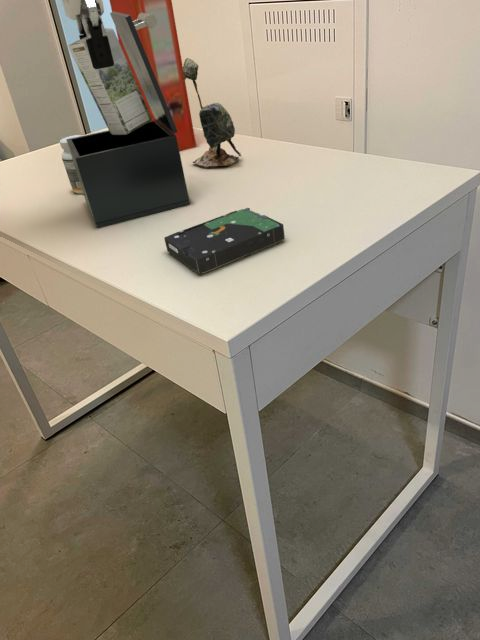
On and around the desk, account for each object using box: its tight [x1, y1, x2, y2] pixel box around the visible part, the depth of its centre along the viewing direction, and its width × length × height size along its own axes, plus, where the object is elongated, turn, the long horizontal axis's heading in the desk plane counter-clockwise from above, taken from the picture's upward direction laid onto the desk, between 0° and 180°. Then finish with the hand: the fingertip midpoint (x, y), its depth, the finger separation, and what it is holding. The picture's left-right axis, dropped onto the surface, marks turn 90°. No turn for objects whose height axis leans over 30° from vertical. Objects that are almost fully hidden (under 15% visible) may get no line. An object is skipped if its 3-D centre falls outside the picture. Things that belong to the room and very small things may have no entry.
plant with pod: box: [182, 57, 242, 168], centre depth 108 cm, size 8×11×20 cm
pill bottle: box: [59, 134, 84, 194], centre depth 107 cm, size 6×6×10 cm
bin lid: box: [109, 11, 178, 134], centre depth 90 cm, size 17×14×5 cm
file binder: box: [108, 0, 197, 152], centre depth 121 cm, size 8×17×32 cm, turn 29°
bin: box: [66, 120, 191, 229], centre depth 97 cm, size 17×14×12 cm
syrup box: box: [68, 27, 152, 135], centre depth 88 cm, size 6×6×14 cm
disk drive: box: [163, 207, 286, 275], centre depth 81 cm, size 10×3×15 cm
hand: (99, 63), depth 86 cm, fingers closed on syrup box, 7 cm apart
